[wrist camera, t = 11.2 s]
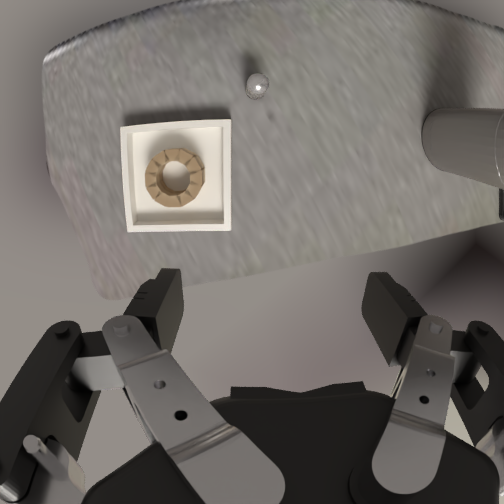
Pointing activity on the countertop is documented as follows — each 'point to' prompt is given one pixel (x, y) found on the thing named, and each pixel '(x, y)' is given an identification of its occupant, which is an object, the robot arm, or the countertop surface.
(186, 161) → the oak ring
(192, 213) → the white tray
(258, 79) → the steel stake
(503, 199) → the phone
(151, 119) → the countertop surface
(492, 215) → the countertop surface
